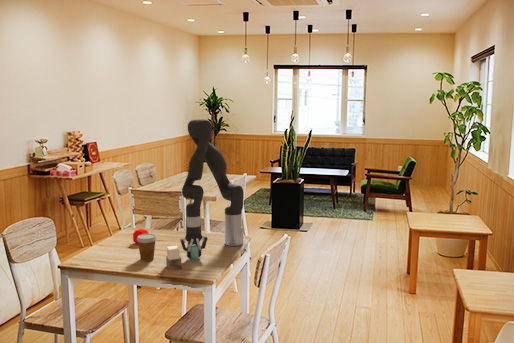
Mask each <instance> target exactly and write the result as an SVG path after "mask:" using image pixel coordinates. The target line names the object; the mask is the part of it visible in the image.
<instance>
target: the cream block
mask: <svg viewBox="0 0 514 343" xmlns="http://www.w3.org/2000/svg"><path fill="white" fill-rule="evenodd" d="M166 256H167V257H168V259H169V260H173V259H180V258H181V256H180V248H179V246H178V245H169V246H166Z"/></svg>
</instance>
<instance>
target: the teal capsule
mask: <svg viewBox="0 0 514 343" xmlns="http://www.w3.org/2000/svg"><path fill="white" fill-rule="evenodd" d="M190 254H191V259H189V260H190V261H199V259H200V257H199V248H198V245H197V244H194V245H192V246H191V249H190Z"/></svg>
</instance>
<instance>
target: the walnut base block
mask: <svg viewBox="0 0 514 343" xmlns="http://www.w3.org/2000/svg"><path fill="white" fill-rule="evenodd" d="M165 259H166V262H165V263H166V265H165V266H166V267H167V268H166V269H167V270H168V271H174V270H175V271H176V270H182V257H180V259H173V260H169V259H168V257H167V255H166V257H165Z"/></svg>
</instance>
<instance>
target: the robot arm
mask: <svg viewBox="0 0 514 343" xmlns="http://www.w3.org/2000/svg"><path fill="white" fill-rule="evenodd" d="M187 132H188V135H189V136H190V138H191V139H192V141H193V142H194V143H195V145H196V149H195V151H194V152H193V154H192V156H191V157H190V160H189V163H188V171H187V176H186V179H185V180H184V183H183V185H182V187H181V188H182V189H181V195H182V196H183V198H185V199H187V200H189V199H190V200H193V202H190V203H188V204H186V206H185V236H184V237H183V238H180V239H179V242H180V245H181V247H182V249H183V251H184V252H186V257H187V259H188V260H190V259H191V254H190V249H191V246H192V245H194V244H197V245H198V248H199V258H201V256H202V250H204V249H206V245H207V241H208V237H207V236H206V235H203V234H202V217H201V207H202V202H203V199H204V198H203V197H204V188H203V186H202V185H199V184H194V183H195V182H197V181H200V180H202V178H203V171H204V163H206V165H207V167H208V169H209V171H210V172H211V174H212V176H213V178H214V180H215V182H216V184H217V186H218V189H219V192H220V194H221V196H222V198H223V199H224V200H226V201H230V205H229V206H227V207H225V208H224V244H226V245H225V246H227V245H228V247H240V246H241V245H244V227H243V226H242V225H243V212H242V211H243V209H244V208H243V207H244V197H245V196H244V194H245V193H244V188H243V186H242V185H240V184H236V183H232V182H231V181H230V180H229V178H228V176H227V169H228V166H227V165H228V164H227V162H226V160H225V158H224V156H223V154H222V152H221V151H220V150H219V149H218V148H217V147H216V146H214V145H213V144H212V143H211V142H210V141H211V137H212V134H213V125H212V122H211V121H210V120H209V119H204V118H203V119H192V120H190V121H188V123H187ZM186 241H187V245H186V244H185V243H186ZM201 241H202V243H200V242H201Z"/></svg>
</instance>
